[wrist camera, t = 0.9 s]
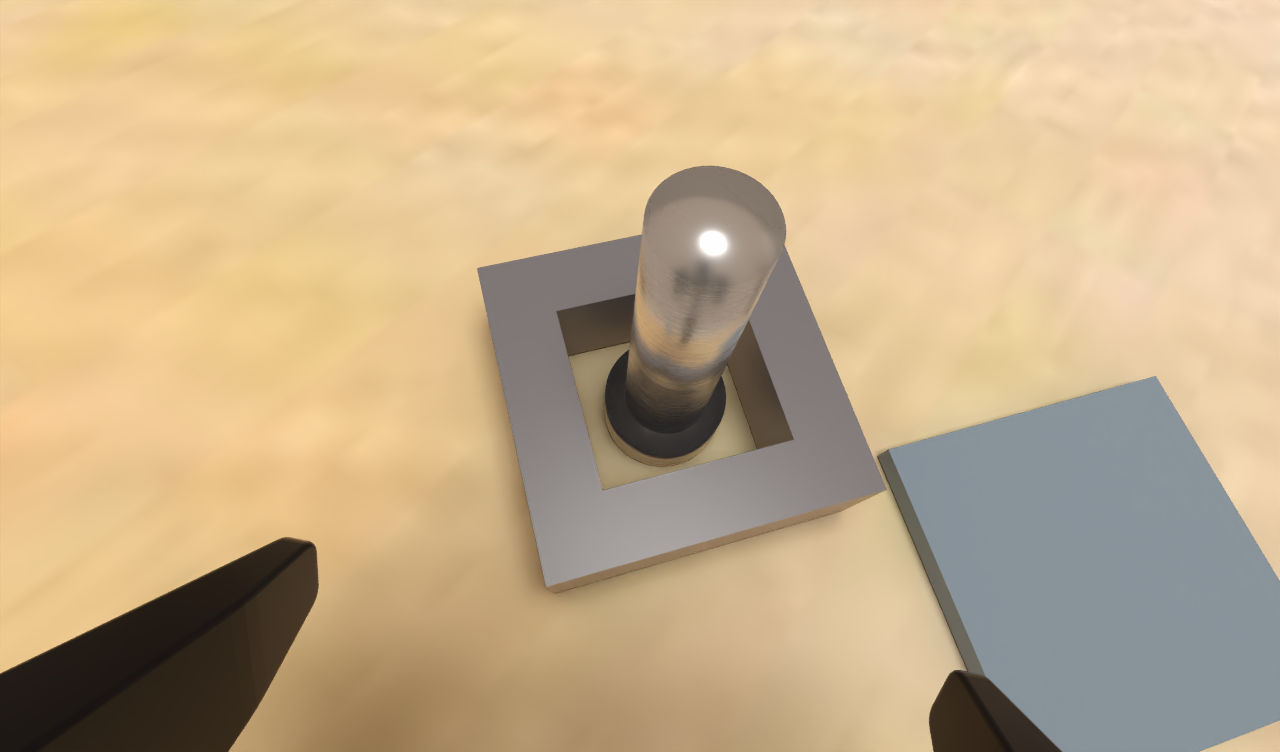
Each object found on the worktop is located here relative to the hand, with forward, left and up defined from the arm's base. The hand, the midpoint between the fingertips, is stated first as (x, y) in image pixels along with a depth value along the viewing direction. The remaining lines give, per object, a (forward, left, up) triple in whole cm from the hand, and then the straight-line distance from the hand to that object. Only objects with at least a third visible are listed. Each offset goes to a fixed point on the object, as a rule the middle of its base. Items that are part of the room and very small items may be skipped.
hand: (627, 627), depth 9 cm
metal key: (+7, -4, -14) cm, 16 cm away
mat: (-3, -18, -14) cm, 23 cm away
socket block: (+7, -4, -14) cm, 16 cm away
